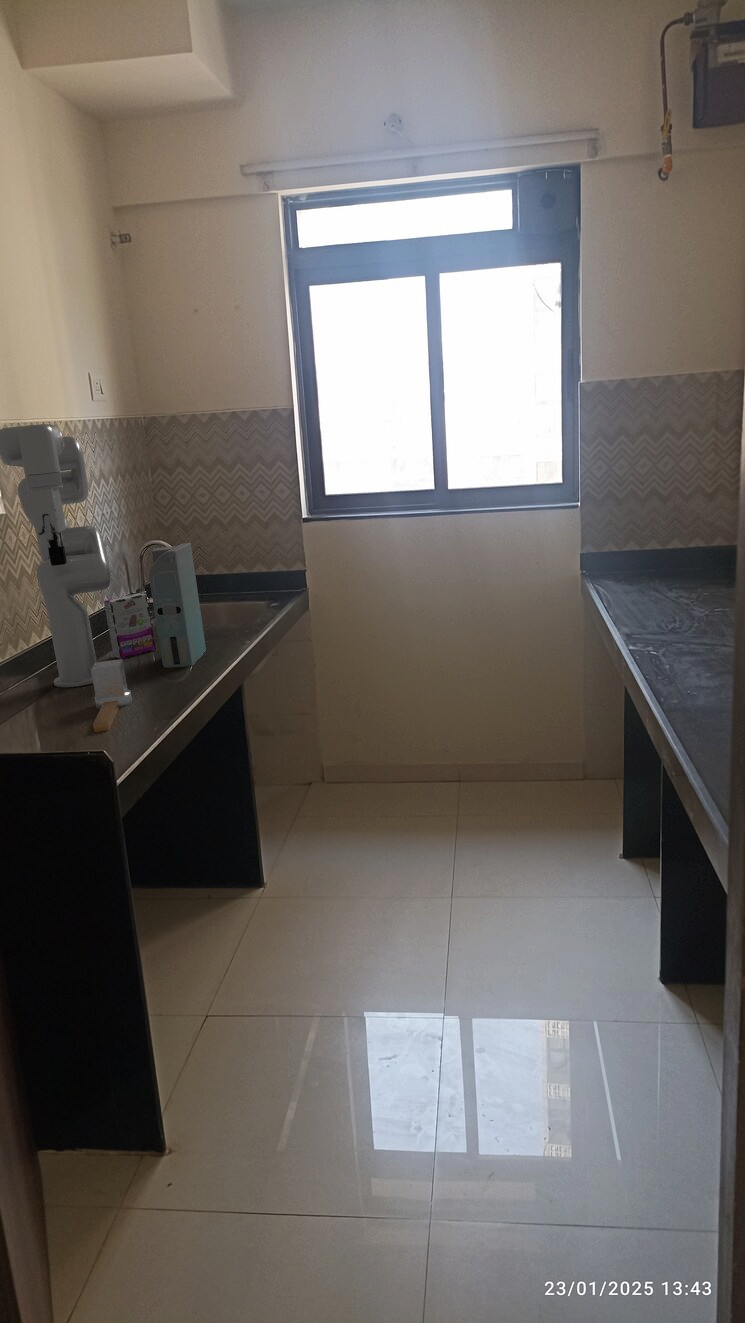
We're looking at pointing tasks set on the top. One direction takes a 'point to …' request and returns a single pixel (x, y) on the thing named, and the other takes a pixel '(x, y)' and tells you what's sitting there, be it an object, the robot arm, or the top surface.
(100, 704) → the hammer
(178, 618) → the device
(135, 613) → the candy bar box
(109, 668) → the white block
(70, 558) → the robot arm
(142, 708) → the top surface
